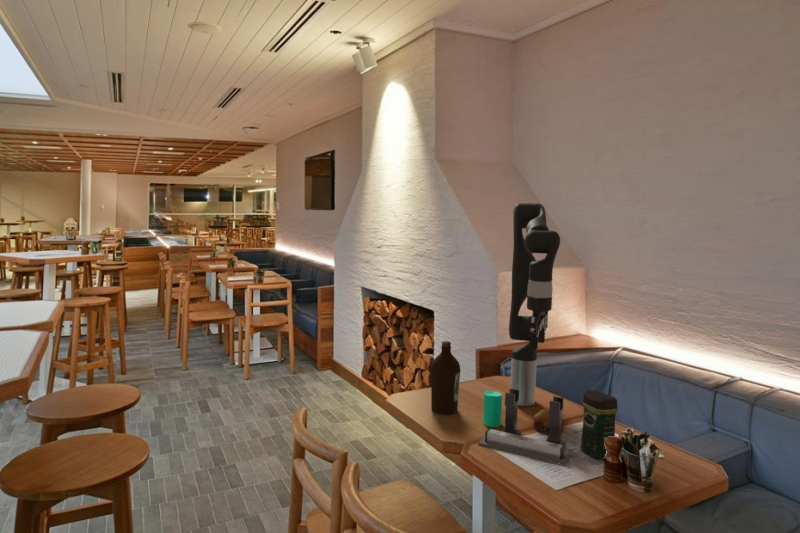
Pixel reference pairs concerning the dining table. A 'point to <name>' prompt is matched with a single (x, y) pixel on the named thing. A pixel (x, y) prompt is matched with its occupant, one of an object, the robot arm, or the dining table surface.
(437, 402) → the olive oil
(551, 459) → the mat
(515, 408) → the post pair
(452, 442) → the dining table surface
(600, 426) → the coffee jar
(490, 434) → the rail
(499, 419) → the candle
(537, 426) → the bread roll
